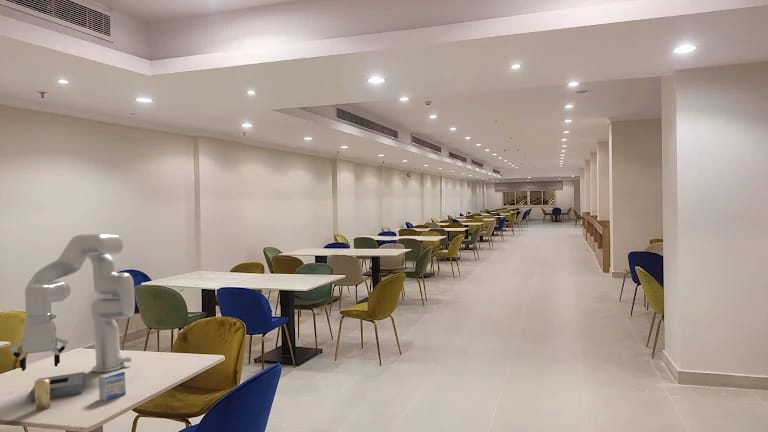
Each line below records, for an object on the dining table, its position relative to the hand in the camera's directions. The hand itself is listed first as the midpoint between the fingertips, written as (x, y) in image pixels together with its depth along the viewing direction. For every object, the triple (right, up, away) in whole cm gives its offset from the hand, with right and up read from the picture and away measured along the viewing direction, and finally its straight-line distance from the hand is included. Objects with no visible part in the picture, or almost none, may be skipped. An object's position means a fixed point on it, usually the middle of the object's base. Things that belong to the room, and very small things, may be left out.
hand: (40, 367), depth 182 cm
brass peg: (0, -15, +1) cm, 15 cm away
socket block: (-5, -15, +18) cm, 24 cm away
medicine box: (+20, -14, +11) cm, 27 cm away
